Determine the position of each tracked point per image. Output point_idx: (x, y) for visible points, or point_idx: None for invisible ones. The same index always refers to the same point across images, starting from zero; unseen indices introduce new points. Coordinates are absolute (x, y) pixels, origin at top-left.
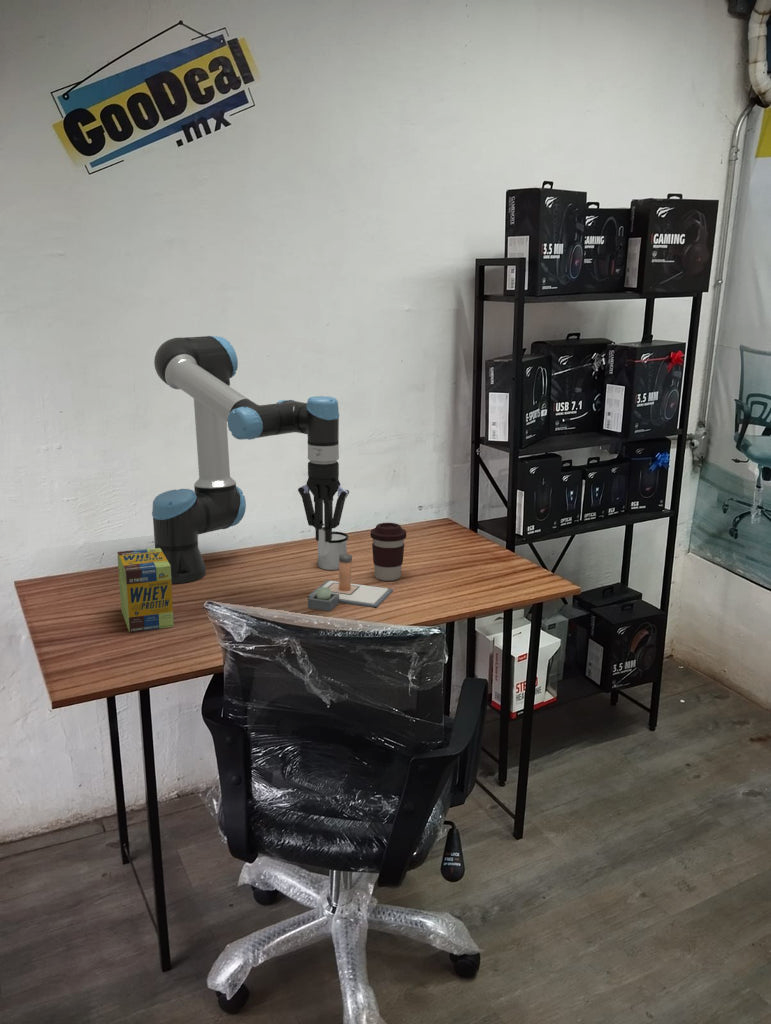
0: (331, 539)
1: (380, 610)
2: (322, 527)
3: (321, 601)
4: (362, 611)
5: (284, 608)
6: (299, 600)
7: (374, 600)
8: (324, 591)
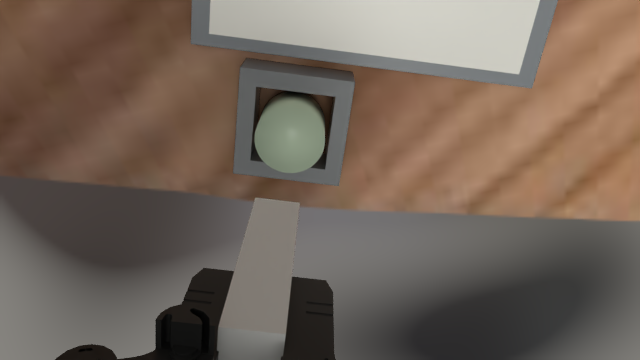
0: (329, 292)
1: (547, 108)
2: (219, 345)
3: (298, 179)
4: (470, 136)
5: (149, 179)
6: (169, 80)
7: (519, 35)
8: (300, 160)
